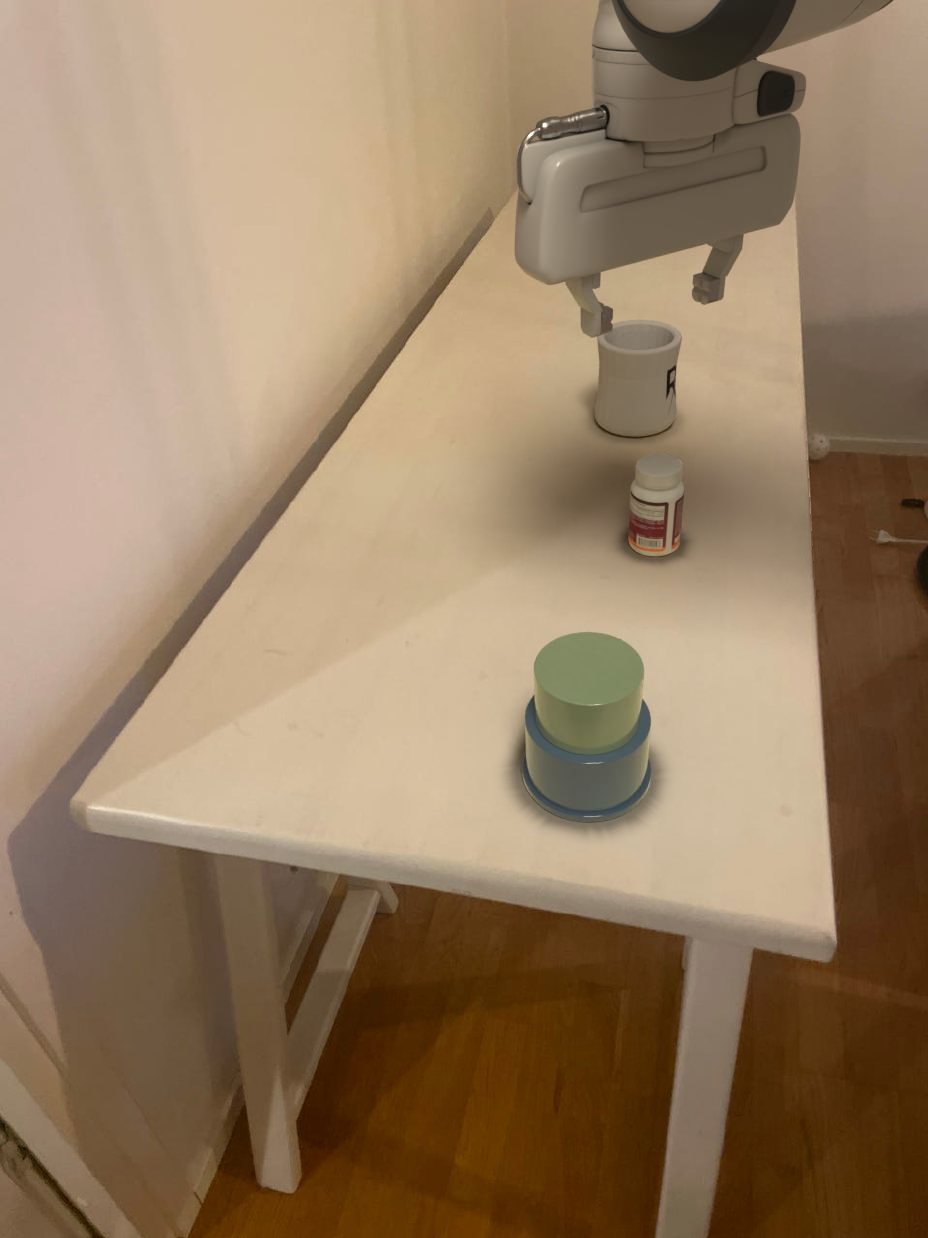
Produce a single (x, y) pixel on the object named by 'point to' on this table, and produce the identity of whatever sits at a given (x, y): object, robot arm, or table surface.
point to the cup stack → (587, 729)
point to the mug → (637, 377)
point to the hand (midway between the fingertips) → (653, 316)
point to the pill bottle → (656, 505)
